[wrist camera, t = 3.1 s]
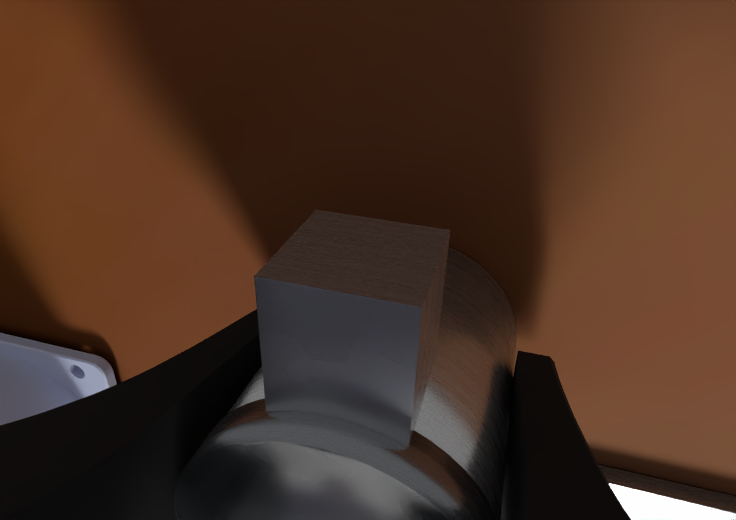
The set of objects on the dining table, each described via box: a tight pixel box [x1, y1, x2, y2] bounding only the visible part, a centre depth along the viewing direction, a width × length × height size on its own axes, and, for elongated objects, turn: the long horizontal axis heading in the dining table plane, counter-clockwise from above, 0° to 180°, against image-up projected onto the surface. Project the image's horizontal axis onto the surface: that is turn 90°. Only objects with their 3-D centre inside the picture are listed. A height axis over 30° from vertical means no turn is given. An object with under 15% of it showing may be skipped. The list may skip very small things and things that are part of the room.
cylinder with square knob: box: [174, 210, 517, 520], centre depth 10 cm, size 5×7×6 cm
